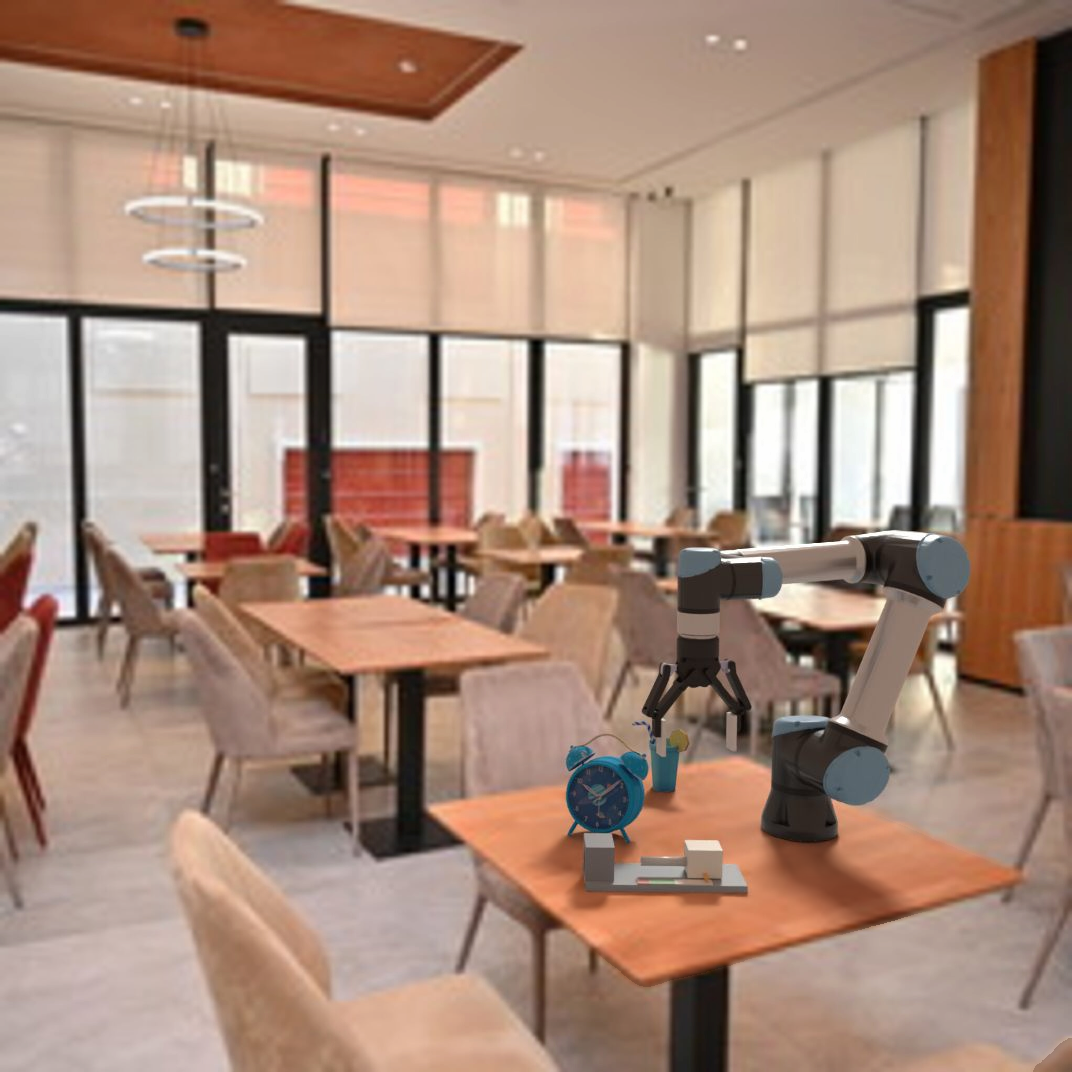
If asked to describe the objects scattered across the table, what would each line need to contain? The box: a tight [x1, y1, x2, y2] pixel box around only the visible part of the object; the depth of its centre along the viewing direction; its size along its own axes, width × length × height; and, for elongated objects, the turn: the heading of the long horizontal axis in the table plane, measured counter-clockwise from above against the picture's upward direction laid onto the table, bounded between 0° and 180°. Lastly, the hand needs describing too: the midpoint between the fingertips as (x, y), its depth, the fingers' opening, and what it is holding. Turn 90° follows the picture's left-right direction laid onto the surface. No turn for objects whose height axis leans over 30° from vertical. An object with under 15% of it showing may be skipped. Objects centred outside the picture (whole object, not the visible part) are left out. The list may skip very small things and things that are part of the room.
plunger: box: [639, 839, 724, 882], centre depth 188 cm, size 14×7×5 cm, turn 90°
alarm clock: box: [565, 732, 650, 845], centre depth 210 cm, size 17×10×20 cm, turn 70°
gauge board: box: [582, 832, 749, 894], centre depth 189 cm, size 28×10×7 cm, turn 90°
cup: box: [631, 720, 690, 793], centre depth 241 cm, size 14×8×15 cm, turn 65°
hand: (696, 752), depth 191 cm, fingers open, 13 cm apart
